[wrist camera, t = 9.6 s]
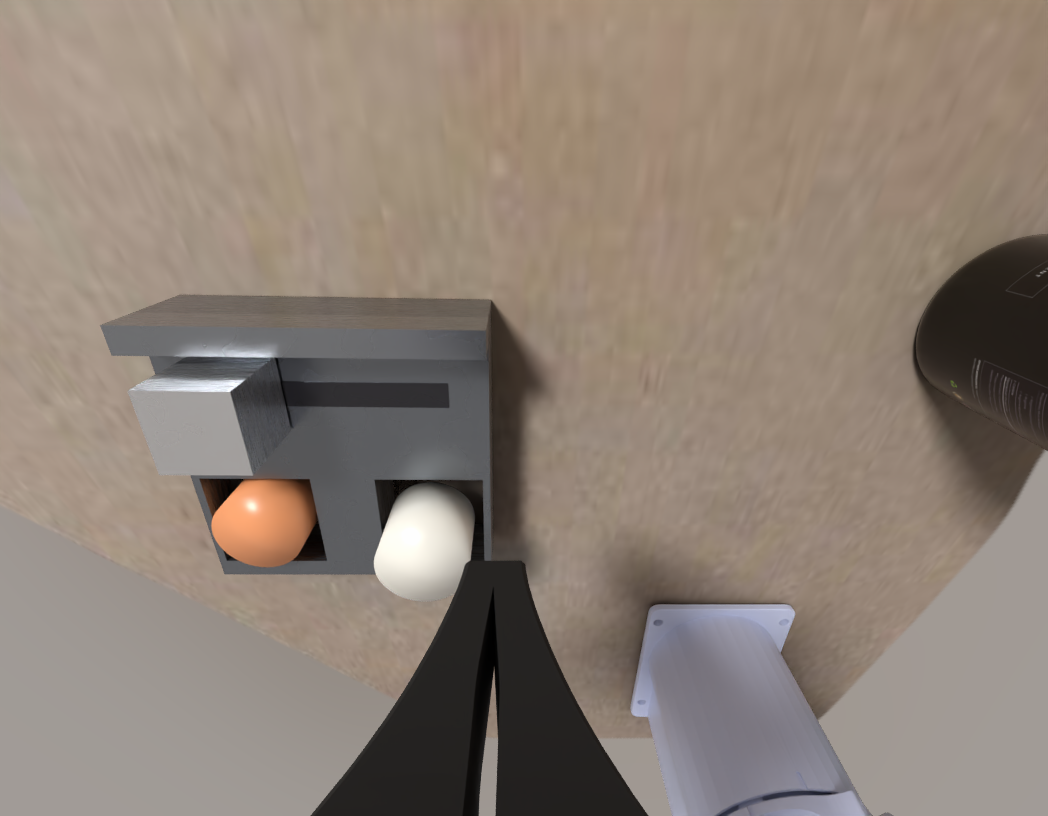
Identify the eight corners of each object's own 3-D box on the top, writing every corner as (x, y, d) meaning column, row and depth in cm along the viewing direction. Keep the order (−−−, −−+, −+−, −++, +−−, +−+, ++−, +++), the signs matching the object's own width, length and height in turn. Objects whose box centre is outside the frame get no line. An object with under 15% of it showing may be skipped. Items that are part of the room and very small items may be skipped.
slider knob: (291, 430, 18) (253, 475, 16) (211, 430, 18) (159, 474, 16) (274, 356, 17) (230, 391, 14) (188, 355, 17) (127, 390, 14)
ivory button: (476, 548, 22) (470, 601, 19) (396, 547, 22) (379, 601, 19) (473, 482, 20) (467, 530, 18) (387, 481, 20) (368, 530, 17)
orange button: (333, 521, 23) (309, 567, 21) (257, 520, 23) (224, 567, 20) (320, 458, 22) (293, 498, 19) (239, 457, 22) (200, 498, 19)
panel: (493, 536, 24) (489, 600, 21) (251, 536, 24) (205, 601, 20) (491, 299, 19) (485, 330, 15) (179, 294, 19) (100, 325, 15)
